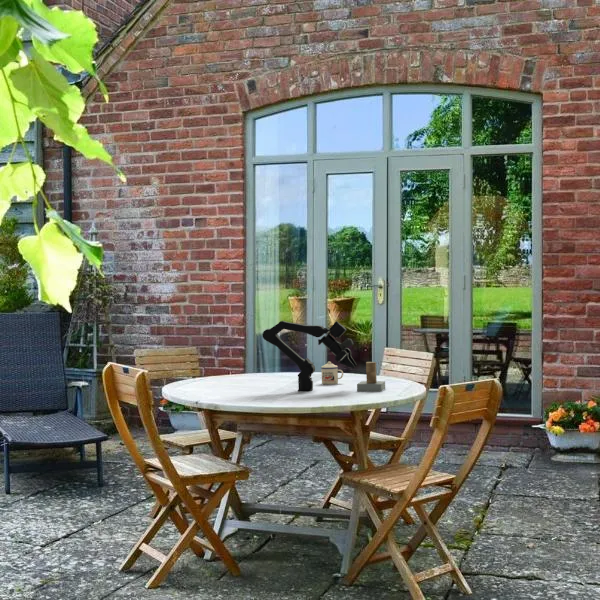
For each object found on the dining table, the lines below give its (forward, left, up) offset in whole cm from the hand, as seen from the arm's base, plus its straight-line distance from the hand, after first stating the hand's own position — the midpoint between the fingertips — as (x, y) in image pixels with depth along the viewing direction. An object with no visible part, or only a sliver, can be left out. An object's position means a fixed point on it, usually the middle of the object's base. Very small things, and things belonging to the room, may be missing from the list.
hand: (355, 366), depth 417 cm
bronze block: (+8, +1, -8) cm, 11 cm away
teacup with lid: (-17, +29, -12) cm, 35 cm away
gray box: (+8, +1, -12) cm, 14 cm away
